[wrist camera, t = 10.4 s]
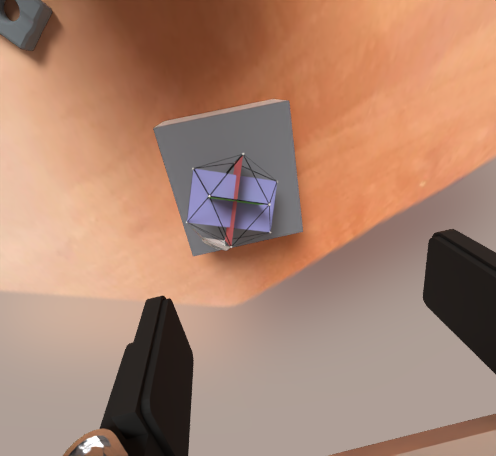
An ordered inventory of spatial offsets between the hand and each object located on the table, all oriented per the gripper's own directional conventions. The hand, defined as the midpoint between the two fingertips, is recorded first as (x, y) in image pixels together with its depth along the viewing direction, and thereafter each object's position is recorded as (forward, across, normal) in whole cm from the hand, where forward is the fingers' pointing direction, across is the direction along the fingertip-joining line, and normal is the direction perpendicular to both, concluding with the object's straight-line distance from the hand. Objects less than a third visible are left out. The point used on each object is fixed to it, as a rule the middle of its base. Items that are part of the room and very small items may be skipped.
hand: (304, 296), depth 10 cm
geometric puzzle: (+17, +2, +1) cm, 17 cm away
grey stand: (+23, +1, +1) cm, 23 cm away
